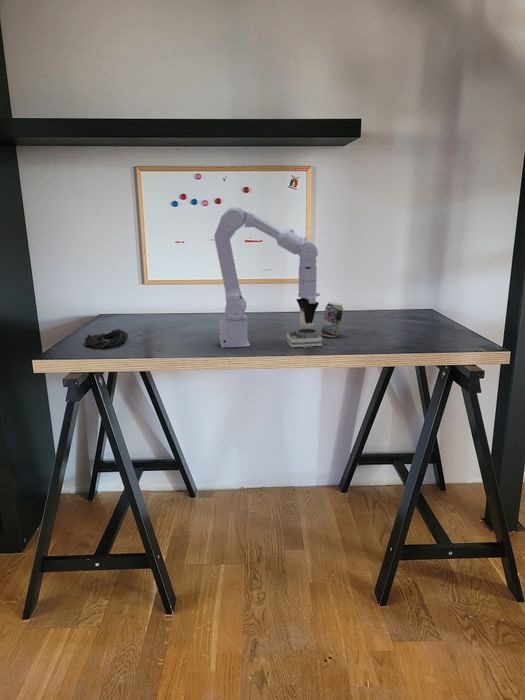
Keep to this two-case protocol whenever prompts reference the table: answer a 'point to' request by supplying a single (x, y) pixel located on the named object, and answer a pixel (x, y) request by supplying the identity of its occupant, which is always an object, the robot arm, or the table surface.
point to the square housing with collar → (304, 338)
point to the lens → (302, 320)
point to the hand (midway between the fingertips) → (307, 321)
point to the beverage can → (332, 319)
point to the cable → (116, 334)
